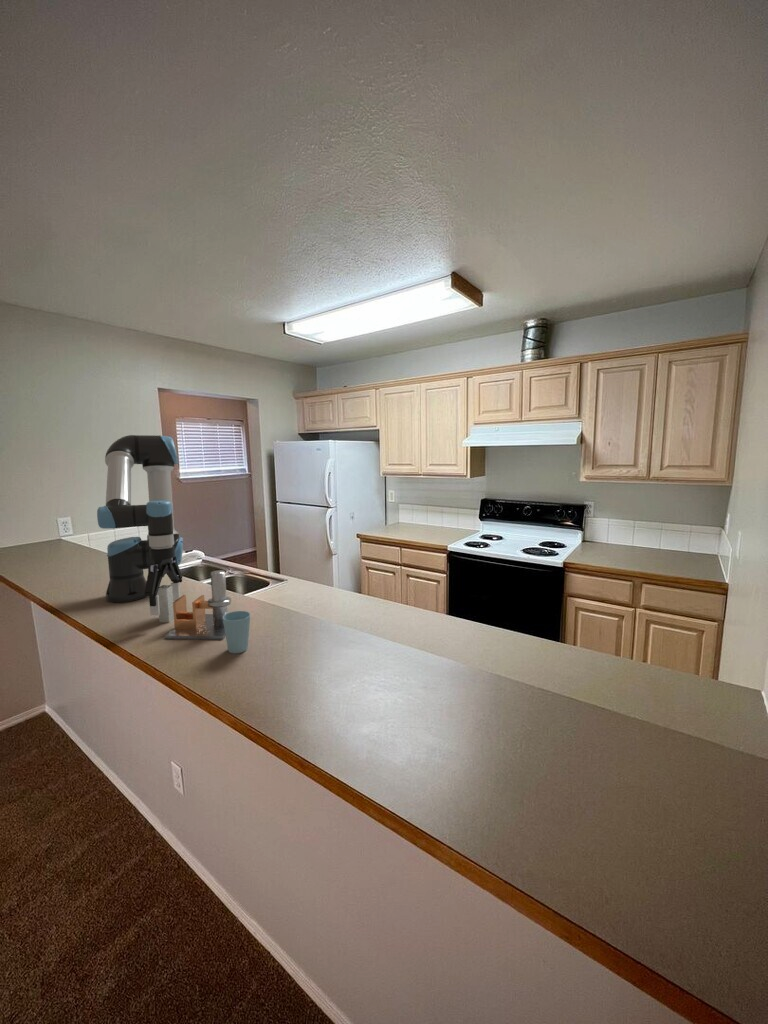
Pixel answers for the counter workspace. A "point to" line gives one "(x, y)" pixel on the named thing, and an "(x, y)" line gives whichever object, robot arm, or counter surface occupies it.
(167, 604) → the light grey block
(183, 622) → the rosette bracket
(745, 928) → the counter surface
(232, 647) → the cup
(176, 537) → the robot arm
